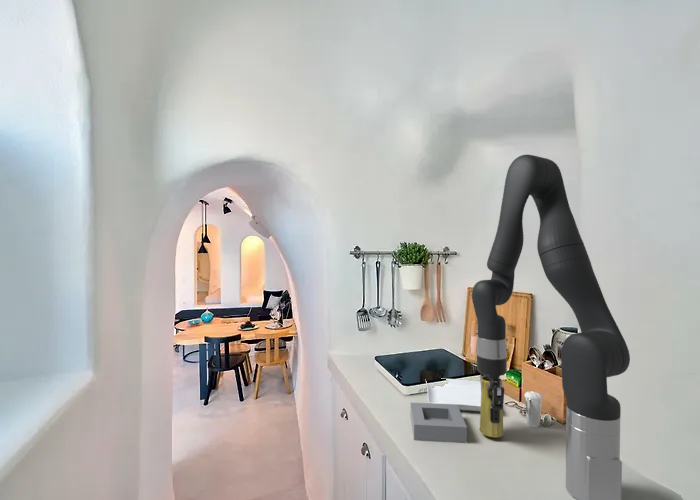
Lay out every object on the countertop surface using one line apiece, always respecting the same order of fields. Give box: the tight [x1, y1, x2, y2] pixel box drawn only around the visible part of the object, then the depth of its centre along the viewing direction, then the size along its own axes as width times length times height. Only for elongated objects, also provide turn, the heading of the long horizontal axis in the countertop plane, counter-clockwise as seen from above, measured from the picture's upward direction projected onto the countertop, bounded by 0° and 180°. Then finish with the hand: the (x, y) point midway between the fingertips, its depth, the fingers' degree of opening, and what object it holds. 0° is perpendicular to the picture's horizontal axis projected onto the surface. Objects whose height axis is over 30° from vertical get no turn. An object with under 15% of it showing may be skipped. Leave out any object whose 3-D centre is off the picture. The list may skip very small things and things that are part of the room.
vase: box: [478, 376, 505, 438], centre depth 98 cm, size 6×6×14 cm
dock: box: [410, 402, 468, 444], centre depth 102 cm, size 14×14×4 cm
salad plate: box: [425, 378, 481, 413], centre depth 121 cm, size 21×21×3 cm
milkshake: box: [524, 390, 546, 428], centre depth 104 cm, size 5×5×10 cm
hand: (491, 416), depth 98 cm, fingers closed on vase, 5 cm apart
